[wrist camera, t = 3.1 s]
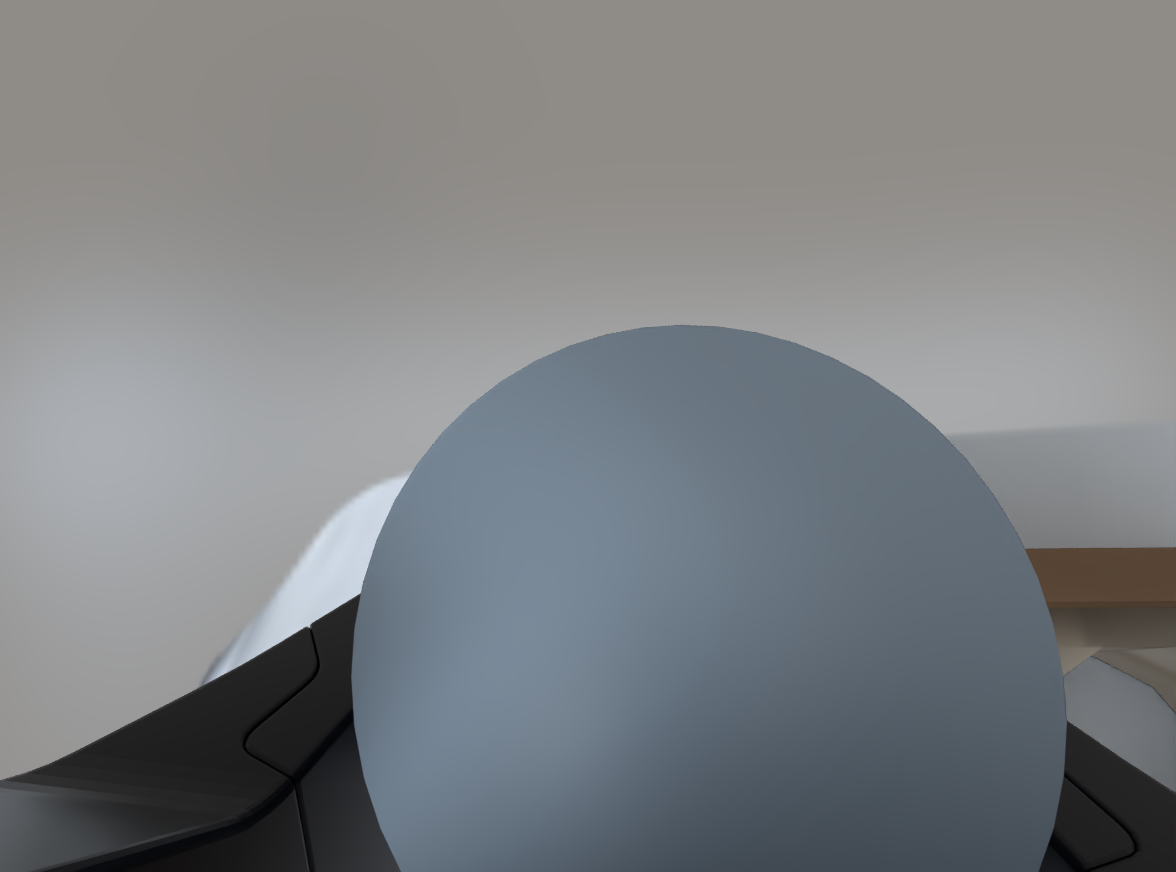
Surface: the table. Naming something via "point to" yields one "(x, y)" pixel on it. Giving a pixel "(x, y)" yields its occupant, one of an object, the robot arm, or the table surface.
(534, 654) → the peg
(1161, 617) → the walnut box
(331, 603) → the table surface
